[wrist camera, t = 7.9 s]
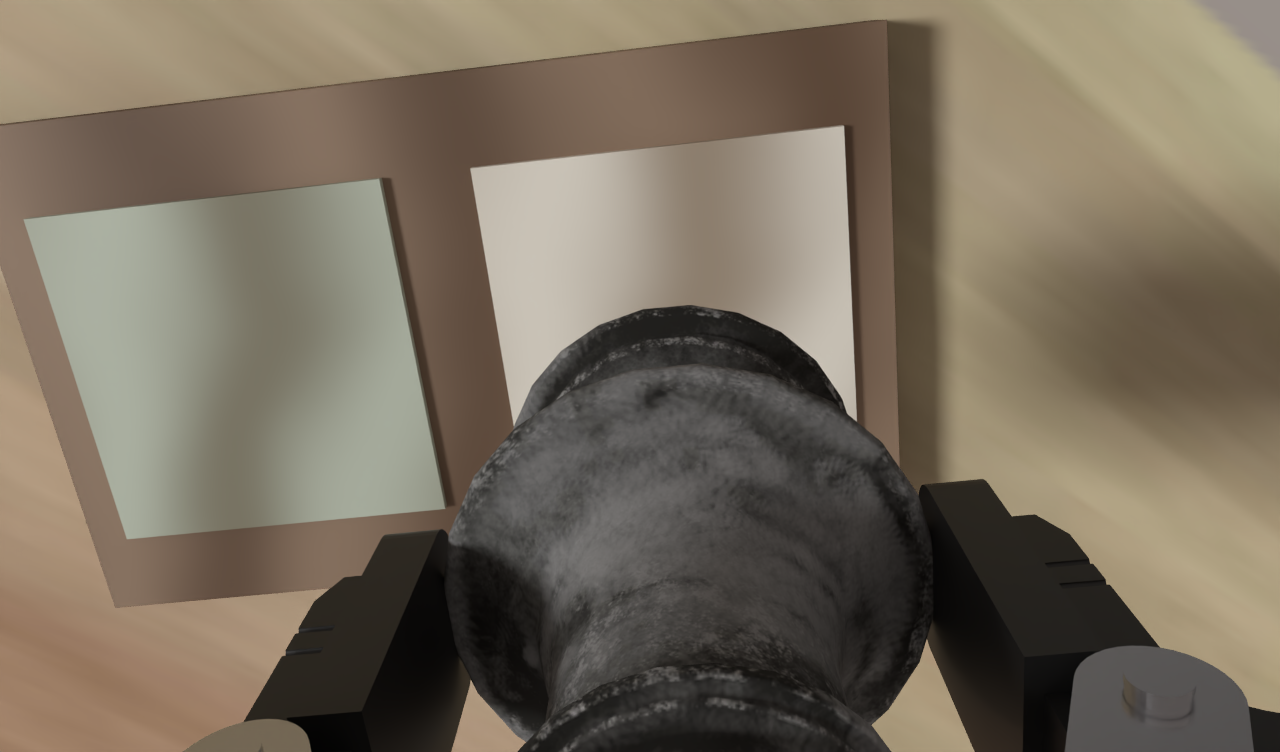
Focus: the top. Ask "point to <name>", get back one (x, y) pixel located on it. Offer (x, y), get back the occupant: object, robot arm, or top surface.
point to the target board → (419, 279)
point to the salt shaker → (689, 551)
